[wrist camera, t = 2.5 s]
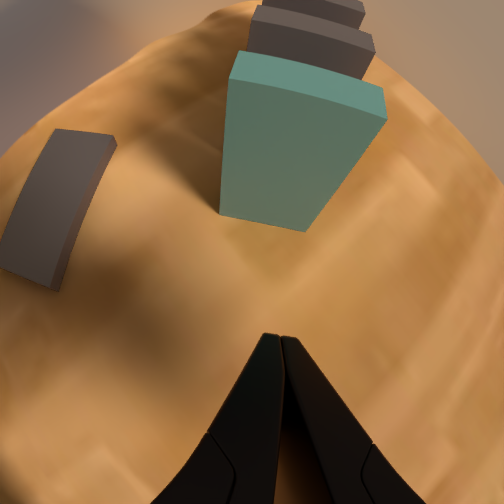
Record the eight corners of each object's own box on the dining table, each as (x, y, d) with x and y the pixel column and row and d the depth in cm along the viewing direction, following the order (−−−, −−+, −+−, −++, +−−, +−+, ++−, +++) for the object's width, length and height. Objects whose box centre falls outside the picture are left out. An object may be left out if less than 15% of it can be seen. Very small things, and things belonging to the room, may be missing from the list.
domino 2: (314, 128, 20) (365, 13, 11) (244, 113, 20) (265, -13, 11) (315, 113, 21) (362, 2, 11) (248, 98, 21) (269, -22, 11)
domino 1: (62, 293, 16) (49, 287, 14) (6, 270, 15) (-8, 263, 14) (119, 149, 19) (113, 135, 17) (63, 141, 19) (55, 128, 17)
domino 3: (310, 174, 19) (375, 52, 10) (232, 157, 19) (251, 19, 9) (312, 154, 20) (371, 34, 10) (237, 138, 19) (257, 4, 10)
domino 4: (305, 232, 18) (387, 119, 8) (219, 214, 18) (228, 78, 8) (307, 207, 18) (382, 87, 9) (224, 190, 18) (239, 50, 9)
